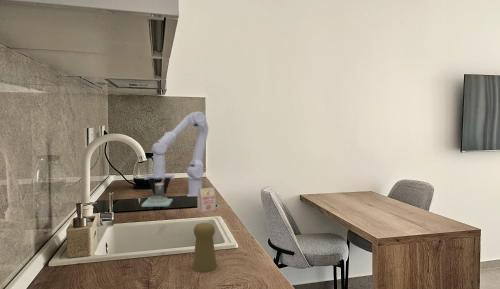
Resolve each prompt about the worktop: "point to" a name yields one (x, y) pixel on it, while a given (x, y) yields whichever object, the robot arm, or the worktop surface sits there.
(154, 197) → the collar mount
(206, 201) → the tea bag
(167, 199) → the plate
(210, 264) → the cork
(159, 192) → the lens barrel
